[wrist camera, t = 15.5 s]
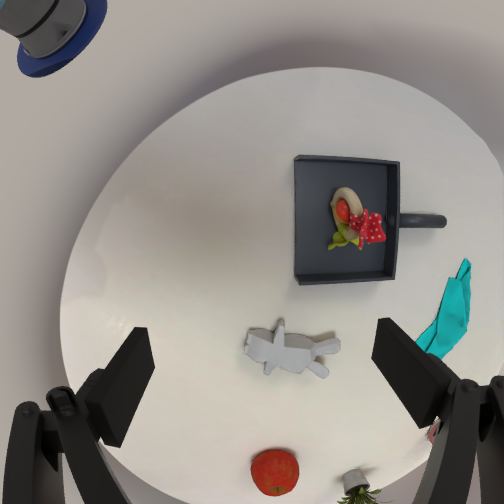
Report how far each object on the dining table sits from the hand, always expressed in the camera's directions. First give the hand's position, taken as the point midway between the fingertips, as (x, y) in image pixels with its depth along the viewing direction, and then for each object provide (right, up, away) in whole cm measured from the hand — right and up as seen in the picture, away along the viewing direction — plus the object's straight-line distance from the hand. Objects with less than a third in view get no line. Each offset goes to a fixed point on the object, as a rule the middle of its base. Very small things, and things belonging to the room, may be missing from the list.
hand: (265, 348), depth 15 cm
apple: (+4, -43, +39) cm, 58 cm away
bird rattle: (+12, +10, +27) cm, 32 cm away
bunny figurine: (+5, -10, +32) cm, 34 cm away
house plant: (+27, -55, +42) cm, 74 cm away
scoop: (+19, +11, +28) cm, 35 cm away
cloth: (+39, -9, +33) cm, 52 cm away
